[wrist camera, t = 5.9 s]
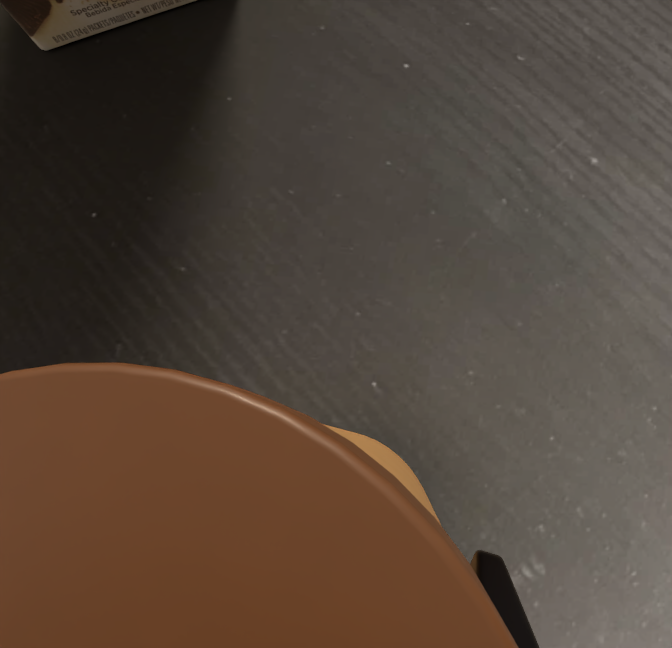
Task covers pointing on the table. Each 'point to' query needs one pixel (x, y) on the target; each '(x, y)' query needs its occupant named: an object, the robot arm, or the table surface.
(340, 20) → the table surface
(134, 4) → the coffee box
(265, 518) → the canister
